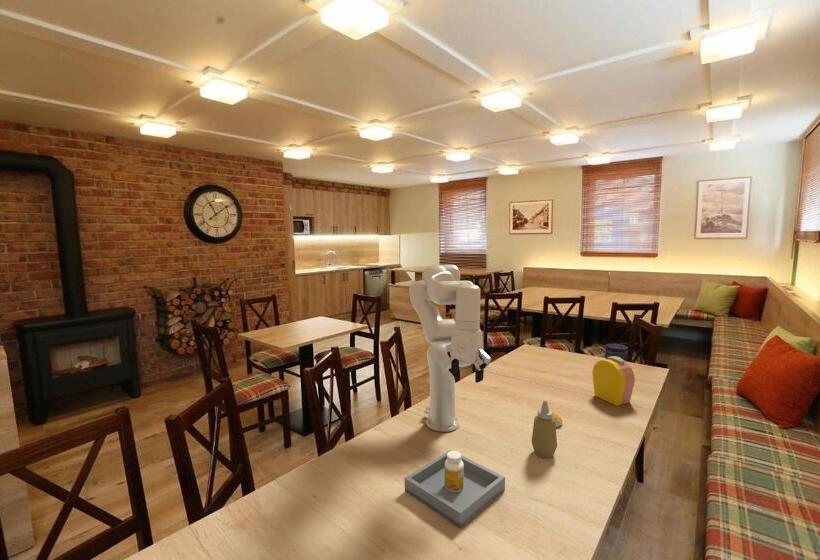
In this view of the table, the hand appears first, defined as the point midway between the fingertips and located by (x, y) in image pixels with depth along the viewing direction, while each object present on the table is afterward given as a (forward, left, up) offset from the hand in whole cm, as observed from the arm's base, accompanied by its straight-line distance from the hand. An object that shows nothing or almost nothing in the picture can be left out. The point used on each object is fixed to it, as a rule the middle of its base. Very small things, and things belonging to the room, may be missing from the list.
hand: (466, 376), depth 123 cm
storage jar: (+9, +110, -27) cm, 114 cm away
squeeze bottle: (+17, +19, -27) cm, 37 cm away
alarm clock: (+18, +79, -27) cm, 86 cm away
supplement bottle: (+7, -16, -26) cm, 32 cm away
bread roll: (+8, +41, -28) cm, 50 cm away
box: (+8, -16, -27) cm, 32 cm away
